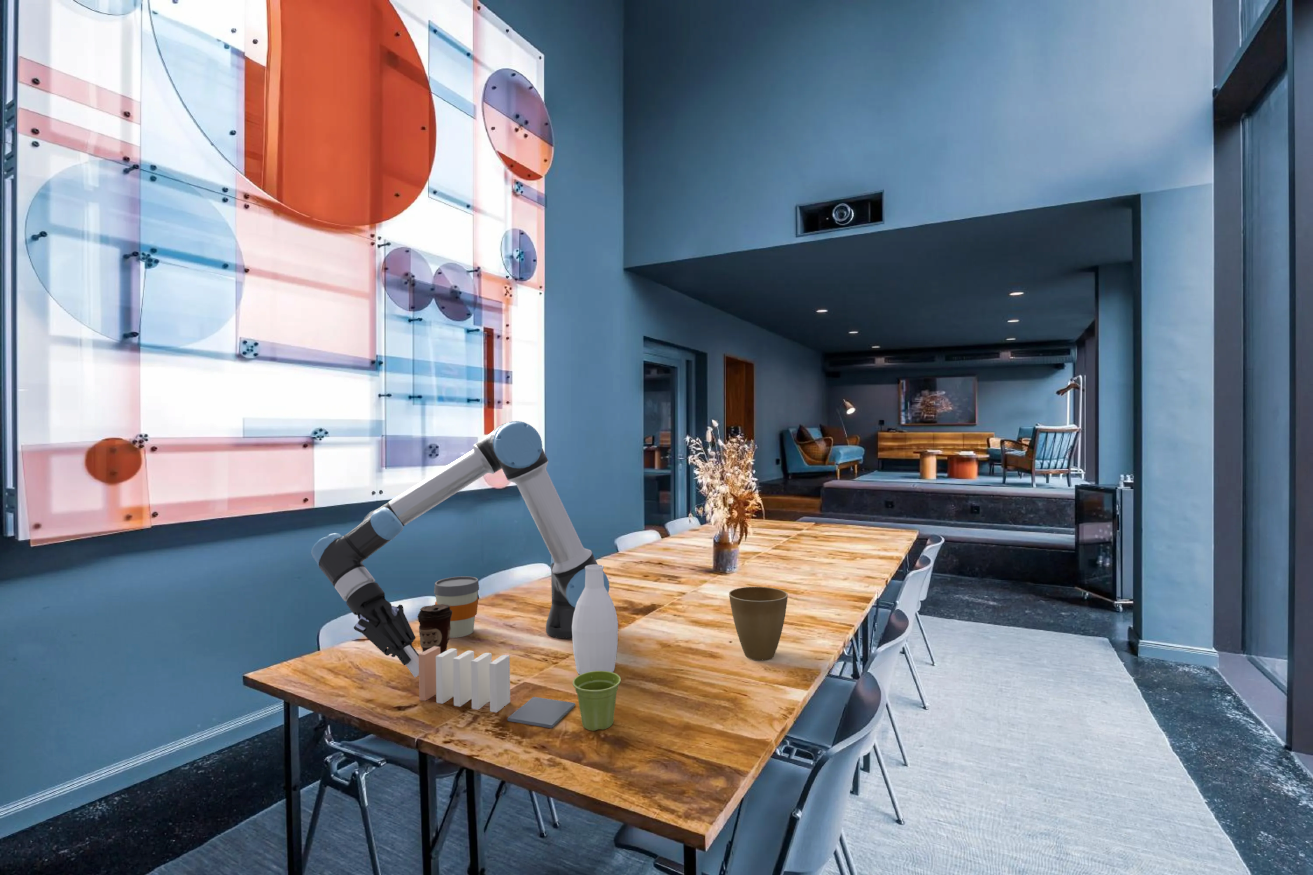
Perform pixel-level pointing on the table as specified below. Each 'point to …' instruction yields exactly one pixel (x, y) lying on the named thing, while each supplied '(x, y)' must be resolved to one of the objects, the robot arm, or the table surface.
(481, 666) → the domino
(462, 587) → the reusable coffee cup
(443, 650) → the coffee cup
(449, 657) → the domino
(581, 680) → the plant pot
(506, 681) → the domino
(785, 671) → the table surface
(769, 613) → the plant pot
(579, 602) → the bottle
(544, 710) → the slate coaster
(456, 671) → the domino
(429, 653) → the domino
